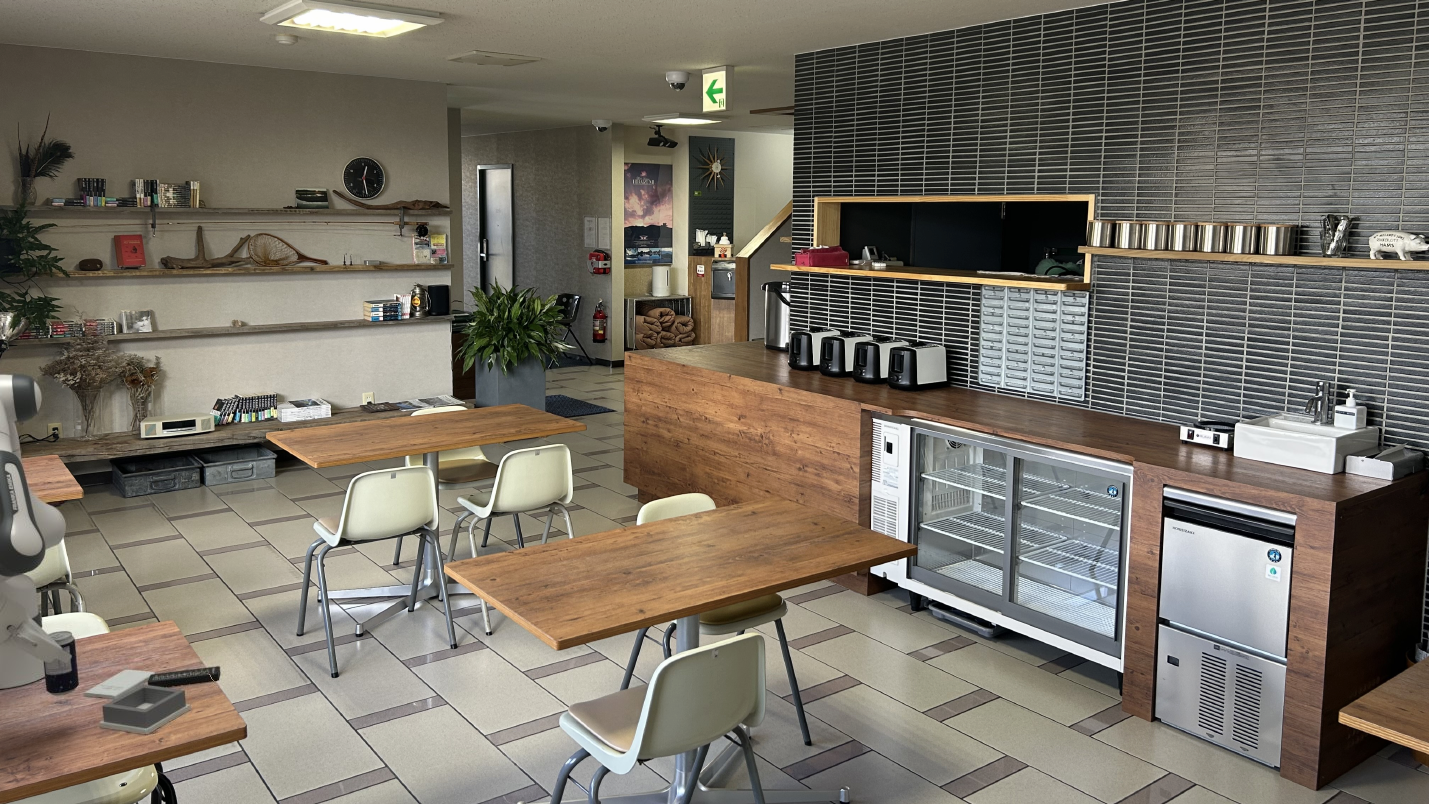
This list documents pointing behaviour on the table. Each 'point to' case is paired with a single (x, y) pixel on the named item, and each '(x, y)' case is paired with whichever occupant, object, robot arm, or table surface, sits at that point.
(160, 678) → the multiport hub
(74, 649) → the beverage can
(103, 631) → the table surface
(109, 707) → the square holder
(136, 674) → the external hard drive
